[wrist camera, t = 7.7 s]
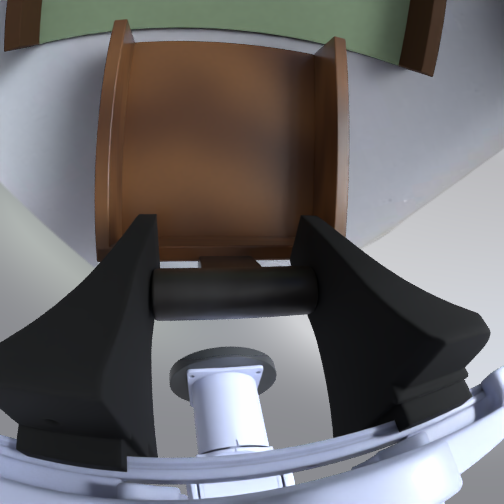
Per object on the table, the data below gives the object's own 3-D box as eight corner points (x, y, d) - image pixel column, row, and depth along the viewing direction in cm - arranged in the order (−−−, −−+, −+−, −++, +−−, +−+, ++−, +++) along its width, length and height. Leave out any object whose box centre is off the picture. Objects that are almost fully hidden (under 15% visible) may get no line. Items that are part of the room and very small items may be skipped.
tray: (314, 271, 16) (380, 313, 10) (115, 275, 14) (75, 327, 8) (319, 60, 14) (382, 10, 8) (125, 47, 12) (98, -21, 6)
